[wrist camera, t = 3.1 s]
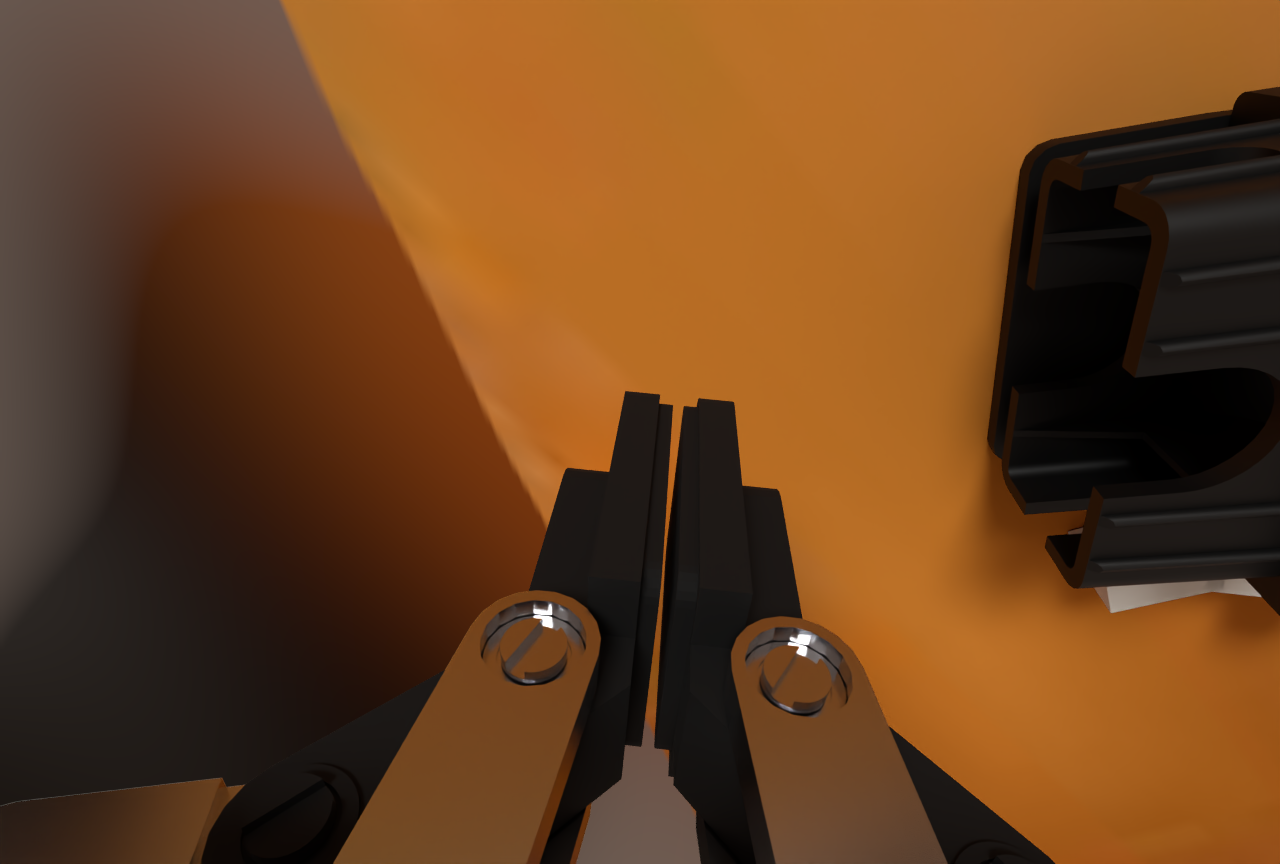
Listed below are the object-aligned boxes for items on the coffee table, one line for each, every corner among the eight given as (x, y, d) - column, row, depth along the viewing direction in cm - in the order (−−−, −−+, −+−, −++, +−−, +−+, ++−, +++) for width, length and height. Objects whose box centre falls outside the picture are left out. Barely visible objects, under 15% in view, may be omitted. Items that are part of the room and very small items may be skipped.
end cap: (1237, 439, 19) (1457, 618, 14) (982, 462, 20) (1087, 636, 15) (1378, 58, 14) (1835, 93, 8) (1024, 120, 15) (1211, 189, 10)
